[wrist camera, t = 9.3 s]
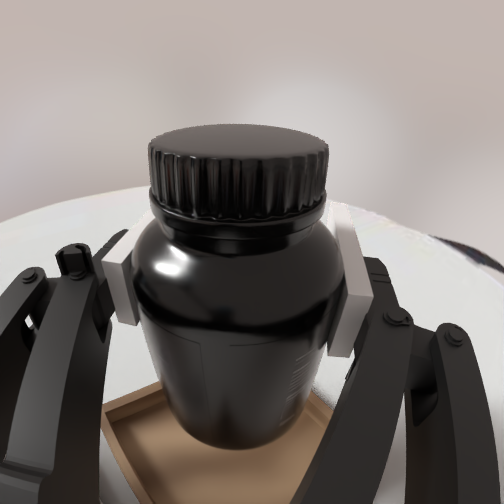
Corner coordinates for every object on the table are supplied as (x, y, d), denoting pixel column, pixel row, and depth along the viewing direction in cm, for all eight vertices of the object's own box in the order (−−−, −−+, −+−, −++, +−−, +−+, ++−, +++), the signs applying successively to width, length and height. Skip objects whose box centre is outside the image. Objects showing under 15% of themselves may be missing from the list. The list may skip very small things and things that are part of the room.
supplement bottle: (266, 330, 18) (289, 117, 12) (328, 422, 13) (429, 172, 6) (153, 360, 15) (112, 127, 9) (190, 473, 10) (107, 198, 4)
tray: (102, 421, 21) (92, 408, 19) (252, 352, 29) (254, 335, 28) (204, 581, 10) (201, 584, 9) (371, 465, 19) (383, 454, 17)
